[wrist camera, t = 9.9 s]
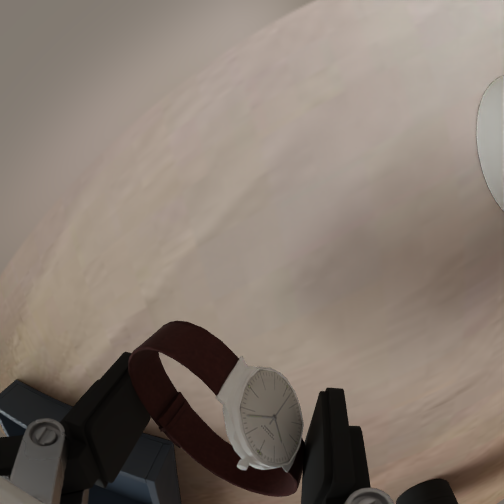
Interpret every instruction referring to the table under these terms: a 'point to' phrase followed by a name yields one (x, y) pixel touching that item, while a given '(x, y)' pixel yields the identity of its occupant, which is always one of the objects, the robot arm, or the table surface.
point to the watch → (224, 410)
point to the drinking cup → (429, 493)
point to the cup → (492, 138)
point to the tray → (133, 471)
